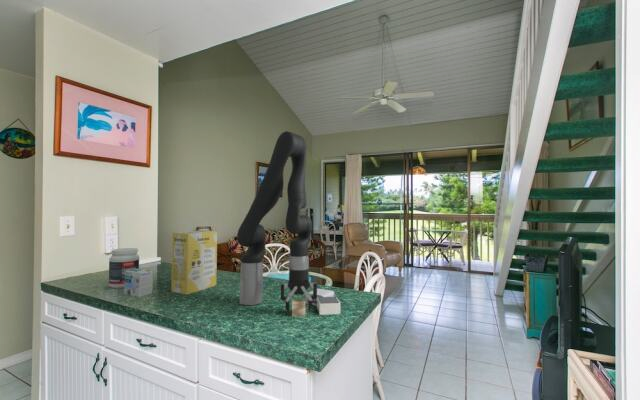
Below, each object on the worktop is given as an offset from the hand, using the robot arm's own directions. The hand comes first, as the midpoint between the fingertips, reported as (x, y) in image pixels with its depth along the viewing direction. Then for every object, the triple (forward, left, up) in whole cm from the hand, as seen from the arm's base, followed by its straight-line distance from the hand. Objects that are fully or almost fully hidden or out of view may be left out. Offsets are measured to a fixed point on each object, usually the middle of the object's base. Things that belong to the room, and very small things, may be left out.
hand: (298, 310), depth 113 cm
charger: (+12, +15, -2) cm, 19 cm away
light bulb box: (-72, +34, -2) cm, 80 cm away
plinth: (+12, +2, -1) cm, 12 cm away
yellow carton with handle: (-49, +41, -2) cm, 64 cm away
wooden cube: (0, 0, -1) cm, 1 cm away
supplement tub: (-86, +50, -2) cm, 100 cm away
